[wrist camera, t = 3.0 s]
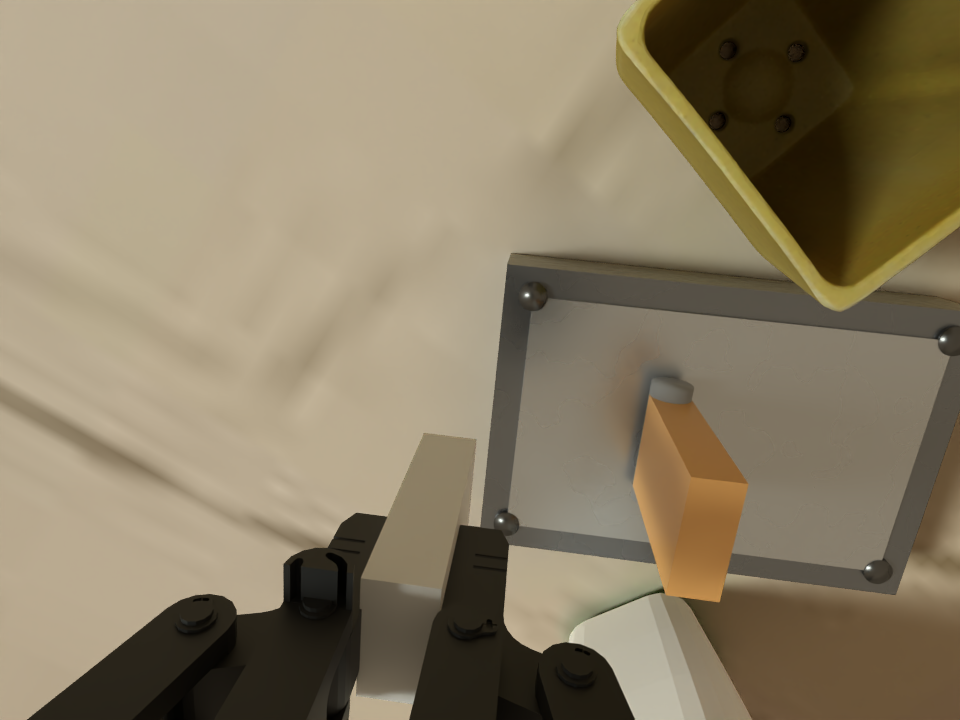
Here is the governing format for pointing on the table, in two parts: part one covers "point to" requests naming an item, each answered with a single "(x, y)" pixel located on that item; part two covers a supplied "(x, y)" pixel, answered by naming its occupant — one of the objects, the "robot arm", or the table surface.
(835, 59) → the flower pot
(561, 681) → the robot arm
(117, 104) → the table surface
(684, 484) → the paddle
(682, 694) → the cup
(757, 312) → the panel
